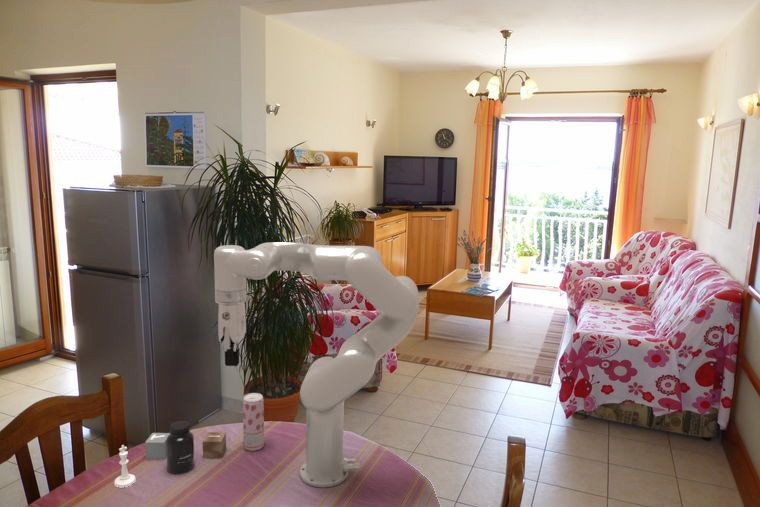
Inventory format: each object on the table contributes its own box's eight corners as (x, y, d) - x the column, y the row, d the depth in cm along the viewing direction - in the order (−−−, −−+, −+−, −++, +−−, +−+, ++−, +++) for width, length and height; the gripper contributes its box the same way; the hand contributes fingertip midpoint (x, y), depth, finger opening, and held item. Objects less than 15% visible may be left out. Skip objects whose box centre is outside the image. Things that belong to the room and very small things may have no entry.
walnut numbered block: (226, 448, 155) (225, 431, 154) (221, 458, 150) (221, 441, 149) (208, 448, 155) (207, 431, 154) (203, 458, 150) (202, 440, 149)
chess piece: (111, 480, 138) (109, 444, 137) (132, 474, 142) (130, 438, 140) (117, 490, 135) (115, 453, 133) (138, 483, 138) (136, 446, 136)
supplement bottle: (185, 476, 141) (184, 433, 139) (161, 472, 143) (159, 430, 140) (199, 461, 148) (198, 420, 146) (176, 458, 149) (174, 417, 147)
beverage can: (240, 450, 154) (239, 400, 151) (247, 439, 160) (247, 391, 157) (260, 452, 153) (259, 402, 151) (266, 441, 159) (266, 393, 156)
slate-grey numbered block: (171, 449, 153) (170, 432, 152) (164, 459, 149) (163, 442, 148) (153, 449, 153) (152, 432, 152) (146, 459, 148) (145, 441, 147)
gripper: (239, 304, 129) (240, 377, 133) (252, 288, 144) (252, 354, 148) (207, 303, 129) (209, 376, 133) (223, 287, 144) (224, 353, 147)
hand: (232, 364), depth 140 cm, fingers closed
